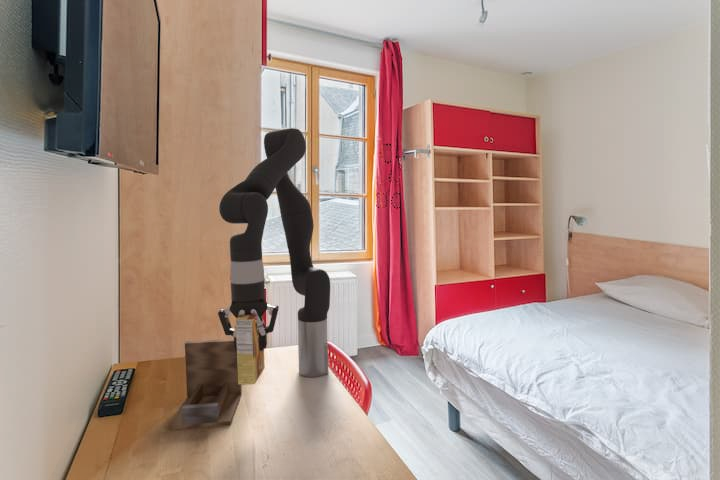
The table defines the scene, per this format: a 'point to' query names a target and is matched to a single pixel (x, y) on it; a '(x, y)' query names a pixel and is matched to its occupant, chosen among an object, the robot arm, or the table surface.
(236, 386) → the board
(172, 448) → the table surface
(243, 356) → the candy box
